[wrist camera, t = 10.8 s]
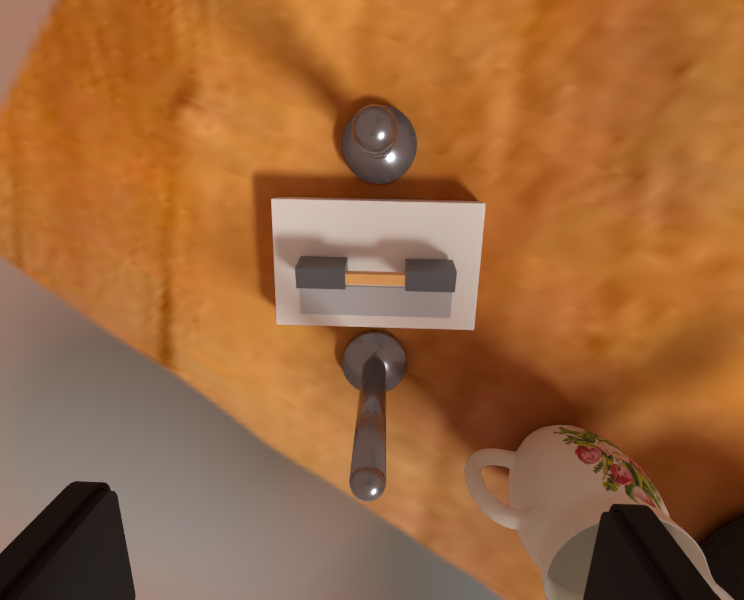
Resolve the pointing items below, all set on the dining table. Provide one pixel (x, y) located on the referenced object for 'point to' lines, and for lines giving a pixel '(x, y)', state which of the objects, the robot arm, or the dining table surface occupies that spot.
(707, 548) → the flowering cactus
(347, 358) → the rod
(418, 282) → the square dumbbell
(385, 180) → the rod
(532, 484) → the pitcher
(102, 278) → the dining table surface
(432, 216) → the panel
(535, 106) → the dining table surface
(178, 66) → the dining table surface
